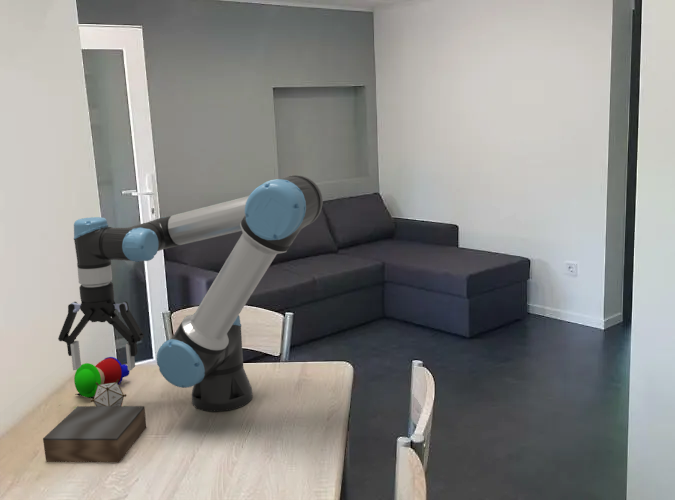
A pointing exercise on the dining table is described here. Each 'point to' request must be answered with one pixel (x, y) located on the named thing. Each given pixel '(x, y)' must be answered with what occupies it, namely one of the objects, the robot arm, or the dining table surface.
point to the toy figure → (98, 375)
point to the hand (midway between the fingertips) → (104, 368)
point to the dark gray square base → (95, 434)
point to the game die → (108, 395)
